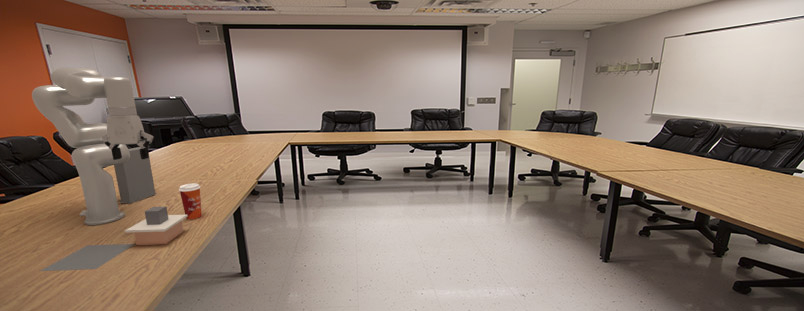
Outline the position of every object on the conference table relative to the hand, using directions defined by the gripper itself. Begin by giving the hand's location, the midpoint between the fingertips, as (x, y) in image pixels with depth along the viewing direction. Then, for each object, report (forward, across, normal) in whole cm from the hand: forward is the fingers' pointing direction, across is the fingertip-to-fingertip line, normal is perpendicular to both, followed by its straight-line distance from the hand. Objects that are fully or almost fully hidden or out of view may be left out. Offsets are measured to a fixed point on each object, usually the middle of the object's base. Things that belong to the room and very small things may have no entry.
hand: (131, 158), depth 119 cm
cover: (+22, +12, -9) cm, 27 cm away
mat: (+28, -2, -21) cm, 35 cm away
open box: (+28, +12, -9) cm, 32 cm away
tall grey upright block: (+29, -29, +38) cm, 56 cm away
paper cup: (+28, +12, +12) cm, 33 cm away
